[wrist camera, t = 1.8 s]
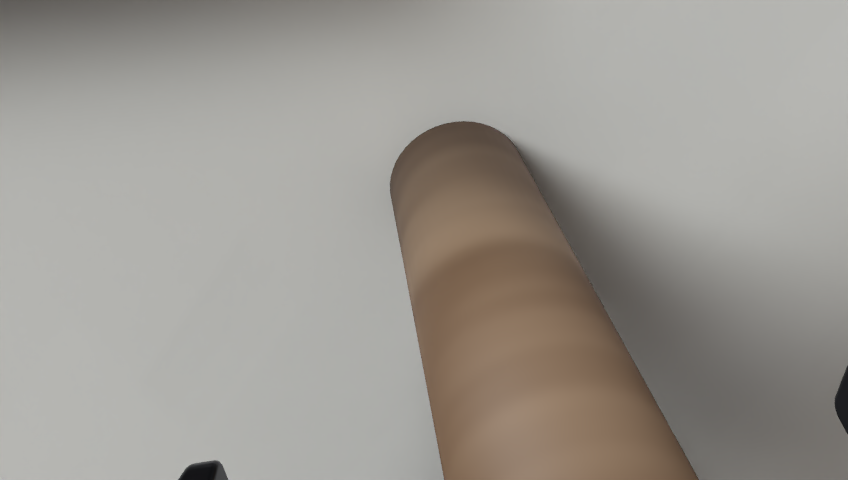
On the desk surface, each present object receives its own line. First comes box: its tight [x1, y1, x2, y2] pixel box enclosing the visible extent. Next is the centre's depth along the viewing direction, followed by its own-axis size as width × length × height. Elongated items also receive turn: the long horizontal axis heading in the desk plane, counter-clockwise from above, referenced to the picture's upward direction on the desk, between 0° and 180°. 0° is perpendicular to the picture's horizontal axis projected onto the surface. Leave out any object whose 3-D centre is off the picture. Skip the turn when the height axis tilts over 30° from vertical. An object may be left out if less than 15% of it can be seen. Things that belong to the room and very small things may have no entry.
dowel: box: [390, 121, 699, 480], centre depth 11 cm, size 3×3×9 cm
